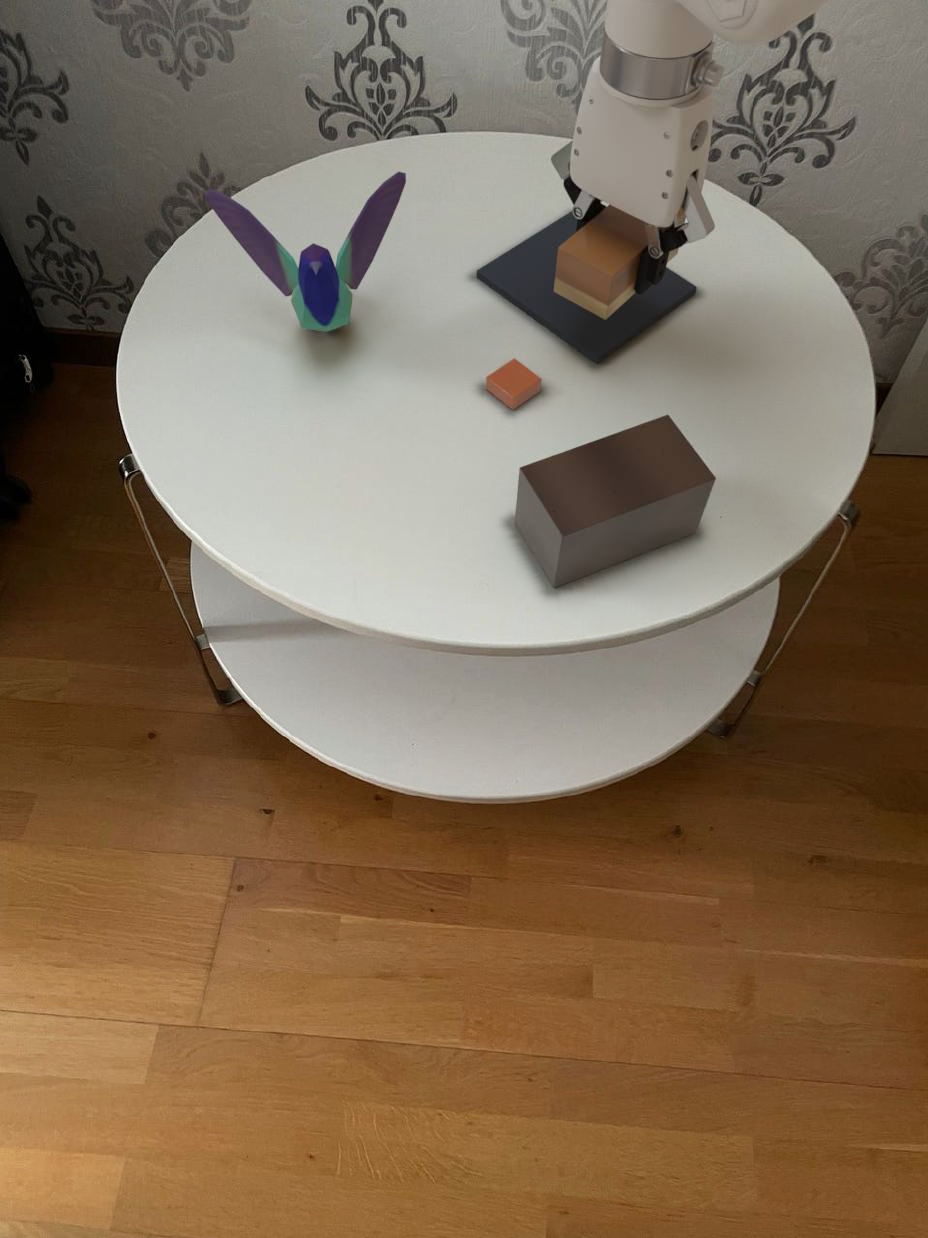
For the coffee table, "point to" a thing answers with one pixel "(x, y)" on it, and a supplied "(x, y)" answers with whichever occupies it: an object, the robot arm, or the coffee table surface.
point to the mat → (531, 288)
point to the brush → (603, 261)
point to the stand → (611, 499)
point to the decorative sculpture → (315, 256)
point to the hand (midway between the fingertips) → (617, 267)
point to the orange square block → (513, 384)
